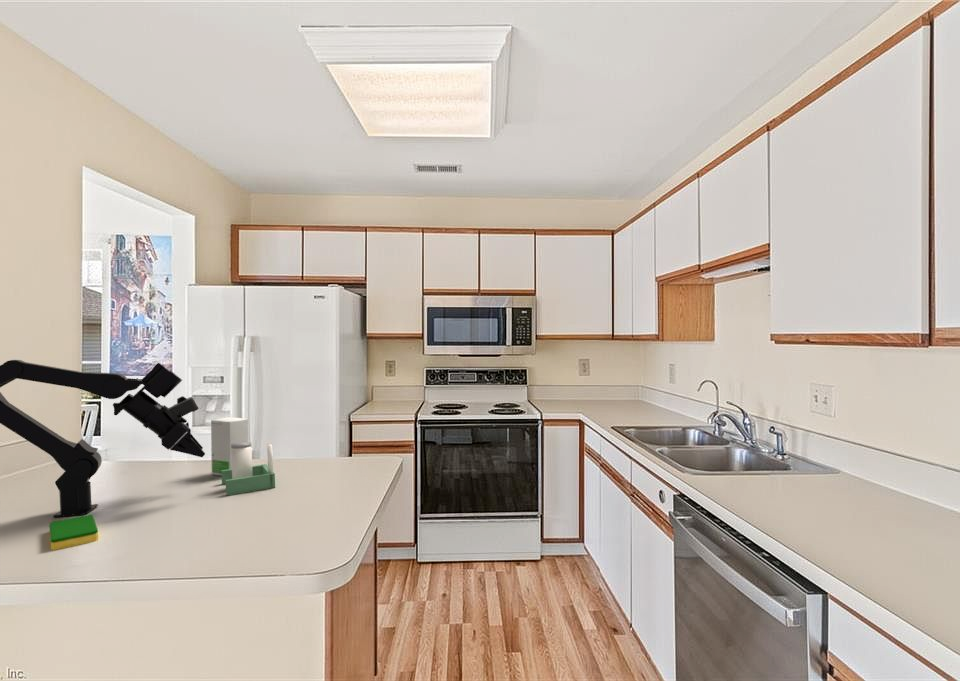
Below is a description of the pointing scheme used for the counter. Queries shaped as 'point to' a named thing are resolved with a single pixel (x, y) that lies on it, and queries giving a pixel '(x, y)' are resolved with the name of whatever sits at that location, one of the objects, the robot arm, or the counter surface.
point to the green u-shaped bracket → (251, 478)
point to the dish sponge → (73, 532)
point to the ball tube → (241, 459)
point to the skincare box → (226, 441)
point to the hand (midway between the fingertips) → (202, 452)
